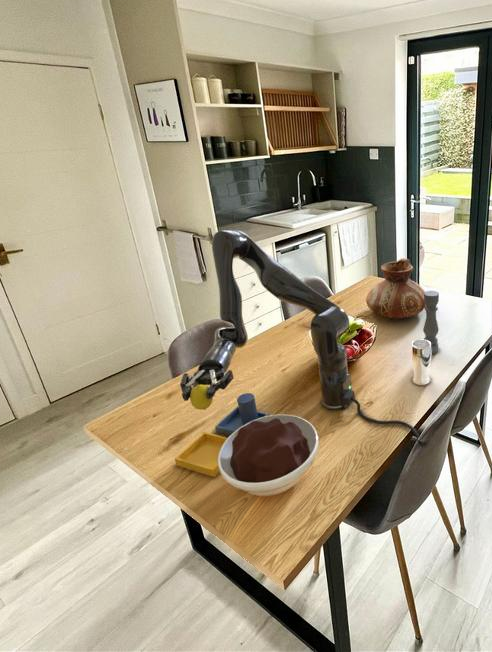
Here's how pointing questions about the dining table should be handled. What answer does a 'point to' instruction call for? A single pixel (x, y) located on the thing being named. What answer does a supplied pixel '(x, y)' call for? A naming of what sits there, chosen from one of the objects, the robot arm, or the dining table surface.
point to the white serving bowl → (268, 454)
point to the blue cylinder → (247, 408)
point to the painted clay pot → (396, 292)
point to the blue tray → (233, 422)
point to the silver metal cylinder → (421, 361)
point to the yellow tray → (202, 454)
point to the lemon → (200, 397)
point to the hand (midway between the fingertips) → (196, 397)
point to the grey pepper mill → (431, 319)
